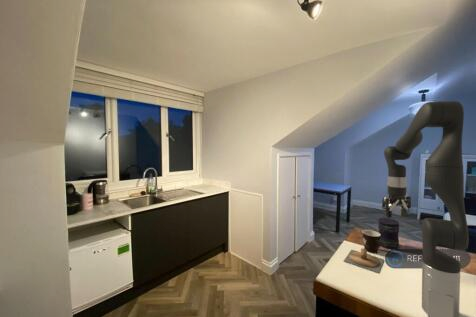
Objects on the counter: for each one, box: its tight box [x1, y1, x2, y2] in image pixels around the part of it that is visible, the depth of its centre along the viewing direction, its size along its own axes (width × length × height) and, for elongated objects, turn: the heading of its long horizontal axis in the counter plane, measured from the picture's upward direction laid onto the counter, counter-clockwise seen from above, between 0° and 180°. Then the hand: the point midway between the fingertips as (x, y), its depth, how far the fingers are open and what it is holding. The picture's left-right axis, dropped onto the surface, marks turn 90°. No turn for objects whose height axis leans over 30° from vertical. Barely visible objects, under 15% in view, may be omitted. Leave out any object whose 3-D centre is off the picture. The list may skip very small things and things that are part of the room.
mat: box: [343, 249, 385, 274], centre depth 103 cm, size 15×15×1 cm
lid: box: [349, 248, 379, 267], centre depth 103 cm, size 13×13×5 cm
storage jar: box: [377, 217, 400, 251], centre depth 117 cm, size 10×10×15 cm
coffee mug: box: [361, 229, 381, 254], centre depth 111 cm, size 12×9×10 cm
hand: (396, 217), depth 101 cm, fingers open, 8 cm apart
